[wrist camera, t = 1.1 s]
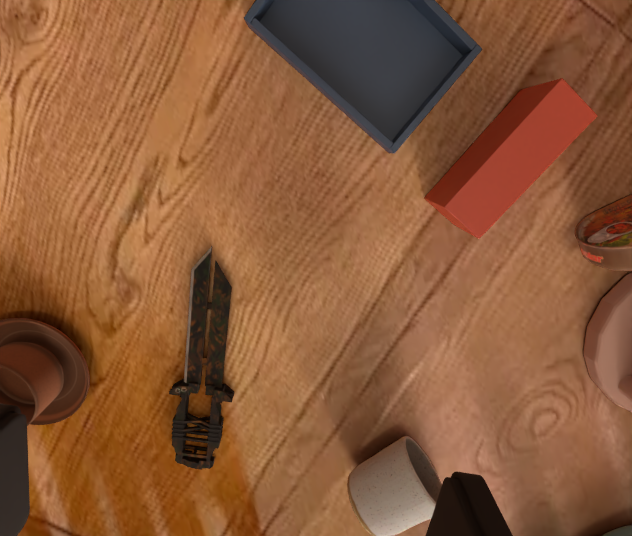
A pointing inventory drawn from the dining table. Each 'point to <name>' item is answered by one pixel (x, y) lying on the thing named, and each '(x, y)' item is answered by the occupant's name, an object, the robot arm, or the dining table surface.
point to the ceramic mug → (394, 489)
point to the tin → (608, 236)
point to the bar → (510, 155)
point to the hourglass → (612, 344)
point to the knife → (196, 360)
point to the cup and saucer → (41, 371)
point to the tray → (370, 56)
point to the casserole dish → (620, 531)
